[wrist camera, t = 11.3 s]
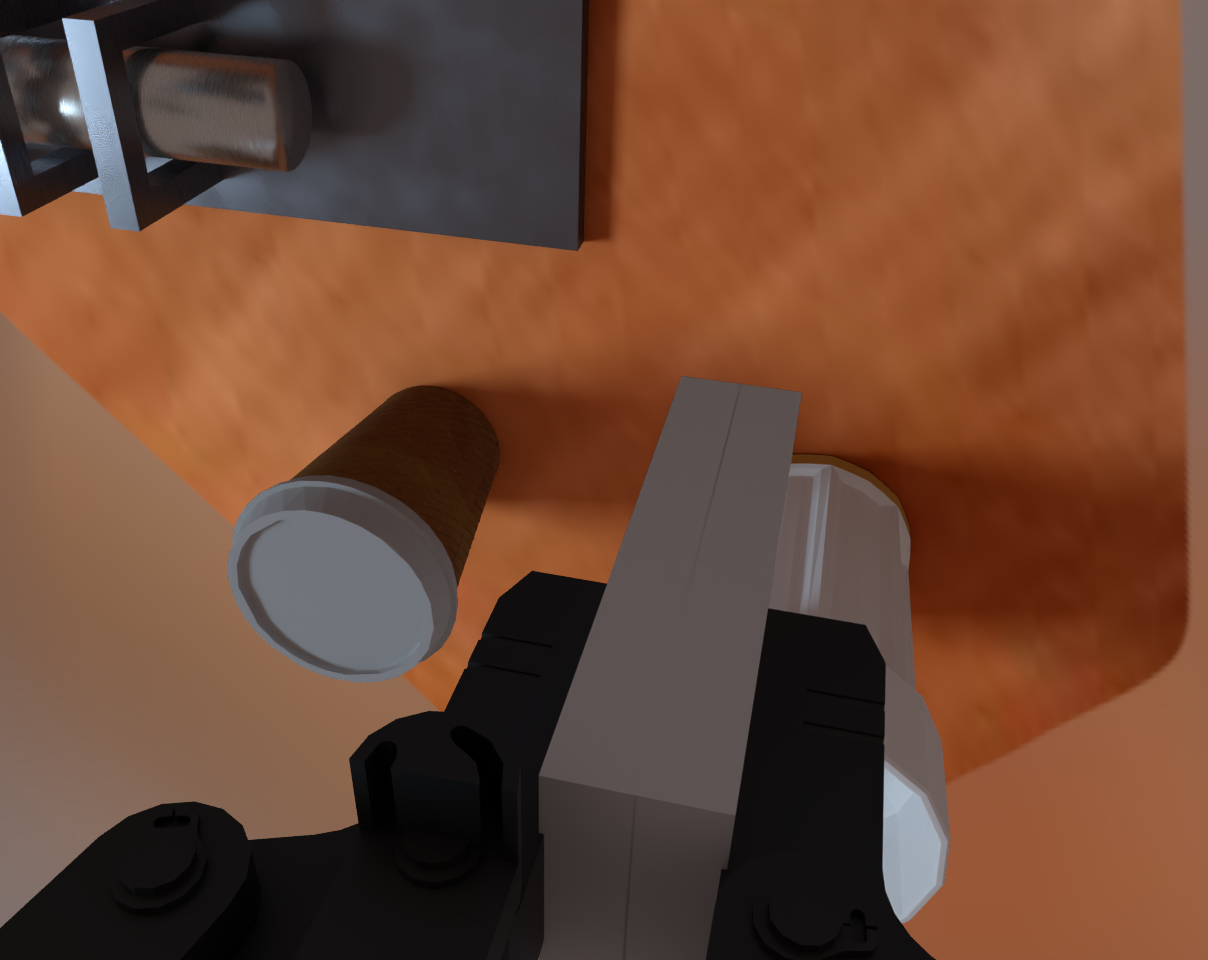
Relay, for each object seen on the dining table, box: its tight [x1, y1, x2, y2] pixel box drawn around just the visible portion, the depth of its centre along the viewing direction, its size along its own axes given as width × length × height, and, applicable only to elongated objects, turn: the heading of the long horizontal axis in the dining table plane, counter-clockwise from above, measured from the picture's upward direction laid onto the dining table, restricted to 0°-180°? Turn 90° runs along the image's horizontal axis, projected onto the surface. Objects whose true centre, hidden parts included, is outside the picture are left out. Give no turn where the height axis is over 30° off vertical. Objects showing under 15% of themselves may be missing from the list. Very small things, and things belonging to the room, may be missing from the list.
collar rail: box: [0, 0, 589, 251], centre depth 41 cm, size 10×30×8 cm, turn 89°
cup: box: [769, 454, 950, 923], centre depth 43 cm, size 11×11×17 cm
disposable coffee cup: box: [228, 386, 499, 682], centre depth 47 cm, size 10×10×12 cm
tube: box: [0, 35, 312, 172], centre depth 42 cm, size 16×4×4 cm, turn 89°
